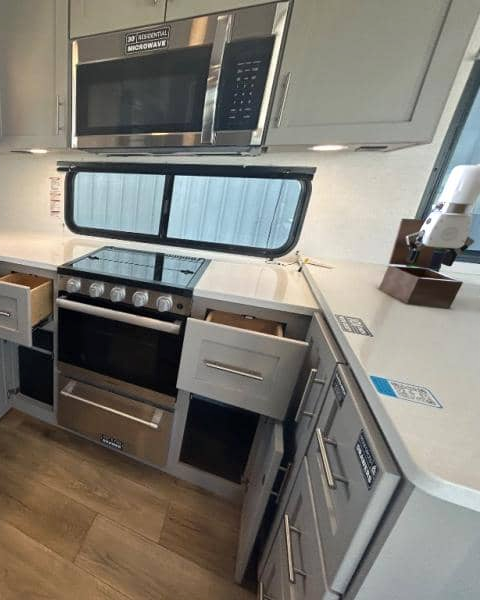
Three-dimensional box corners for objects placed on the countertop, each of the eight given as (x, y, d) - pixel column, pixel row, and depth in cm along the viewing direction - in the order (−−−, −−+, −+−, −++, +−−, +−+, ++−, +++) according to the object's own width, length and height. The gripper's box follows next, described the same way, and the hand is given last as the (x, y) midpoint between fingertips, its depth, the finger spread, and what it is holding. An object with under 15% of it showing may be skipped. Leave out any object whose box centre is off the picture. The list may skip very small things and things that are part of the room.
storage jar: (404, 275, 134) (420, 239, 128) (401, 270, 141) (416, 235, 136) (438, 281, 129) (456, 243, 123) (433, 275, 136) (450, 239, 130)
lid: (443, 220, 108) (441, 221, 109) (403, 218, 110) (401, 218, 111) (429, 267, 112) (427, 267, 112) (389, 263, 114) (388, 263, 115)
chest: (449, 308, 103) (463, 282, 99) (406, 304, 105) (418, 278, 101) (416, 292, 116) (427, 268, 112) (378, 288, 118) (388, 265, 114)
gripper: (428, 209, 97) (404, 264, 104) (499, 212, 94) (470, 269, 101) (411, 206, 104) (389, 258, 111) (476, 209, 101) (450, 263, 107)
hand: (428, 263), depth 106 cm, fingers open, 9 cm apart
